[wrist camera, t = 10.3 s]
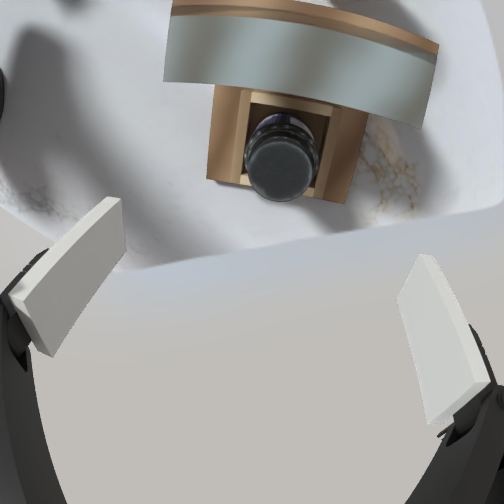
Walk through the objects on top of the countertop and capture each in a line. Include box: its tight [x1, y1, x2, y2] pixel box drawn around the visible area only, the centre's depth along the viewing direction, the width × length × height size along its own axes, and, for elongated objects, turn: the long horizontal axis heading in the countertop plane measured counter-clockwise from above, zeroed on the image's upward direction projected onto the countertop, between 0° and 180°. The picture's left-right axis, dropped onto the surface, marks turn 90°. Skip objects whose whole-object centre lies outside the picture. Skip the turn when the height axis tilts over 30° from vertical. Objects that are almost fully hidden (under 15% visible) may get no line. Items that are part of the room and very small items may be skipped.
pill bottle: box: [244, 113, 319, 202], centre depth 25 cm, size 6×6×11 cm
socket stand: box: [163, 0, 439, 204], centre depth 23 cm, size 16×18×15 cm
